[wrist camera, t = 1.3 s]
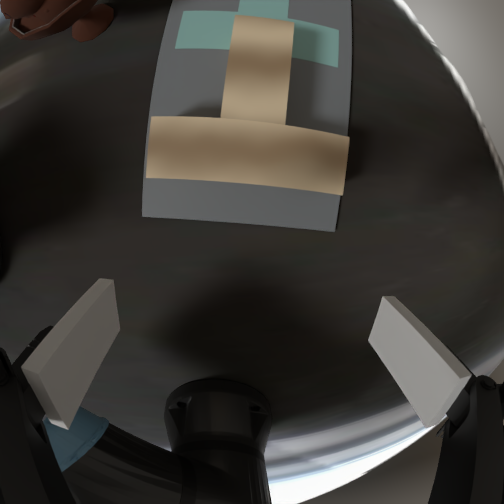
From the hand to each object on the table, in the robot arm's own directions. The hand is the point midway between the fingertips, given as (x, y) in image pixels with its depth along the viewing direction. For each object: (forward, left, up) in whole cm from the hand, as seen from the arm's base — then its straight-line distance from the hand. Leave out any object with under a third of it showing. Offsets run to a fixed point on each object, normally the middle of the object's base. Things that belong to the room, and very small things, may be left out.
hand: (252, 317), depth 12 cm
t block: (+13, 0, -15) cm, 19 cm away
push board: (+18, 0, -15) cm, 24 cm away
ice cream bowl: (+24, +19, -15) cm, 34 cm away
